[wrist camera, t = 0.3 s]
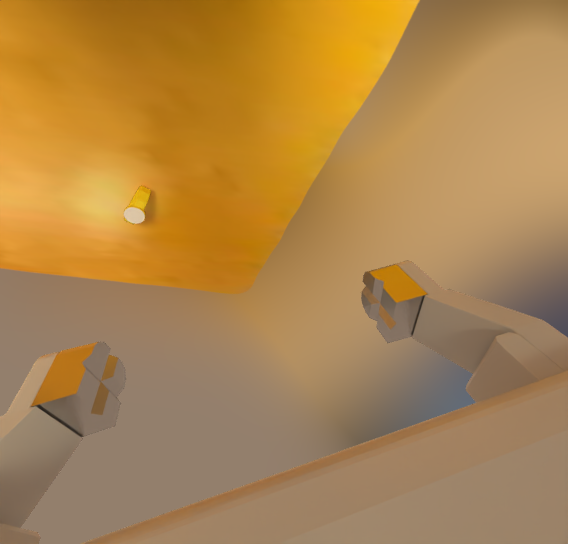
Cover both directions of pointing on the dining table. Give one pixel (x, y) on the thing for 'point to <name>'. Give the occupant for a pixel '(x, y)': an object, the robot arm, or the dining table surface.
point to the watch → (137, 206)
